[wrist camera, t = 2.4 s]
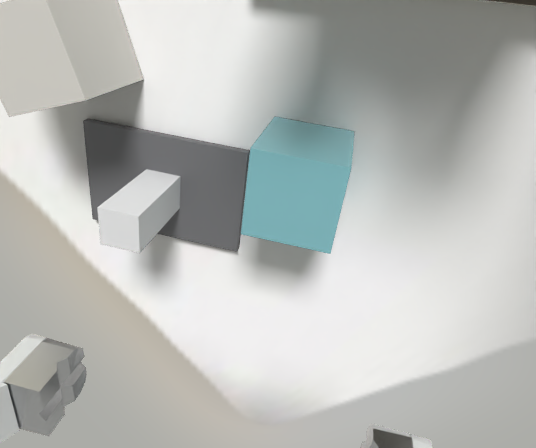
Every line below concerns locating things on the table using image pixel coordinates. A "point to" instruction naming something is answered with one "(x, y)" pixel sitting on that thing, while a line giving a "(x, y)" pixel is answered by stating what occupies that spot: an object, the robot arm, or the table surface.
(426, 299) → the table surface
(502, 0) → the building model
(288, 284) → the table surface
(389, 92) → the table surface
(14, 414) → the robot arm
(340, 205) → the teal block
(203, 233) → the stand
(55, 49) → the light grey block
